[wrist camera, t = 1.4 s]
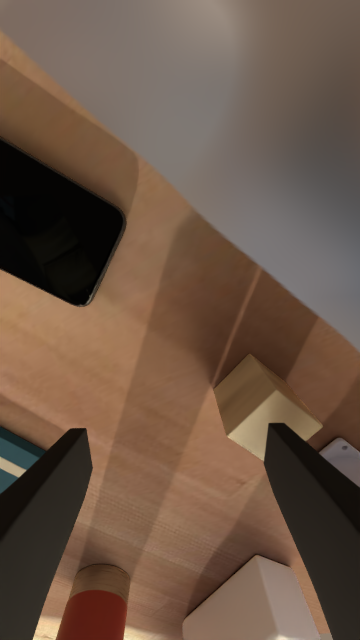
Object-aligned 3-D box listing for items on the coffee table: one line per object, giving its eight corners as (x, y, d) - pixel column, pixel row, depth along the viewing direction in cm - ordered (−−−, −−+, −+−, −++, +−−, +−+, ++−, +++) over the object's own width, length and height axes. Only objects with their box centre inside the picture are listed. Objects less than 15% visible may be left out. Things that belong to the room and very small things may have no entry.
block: (286, 382, 19) (324, 426, 14) (249, 416, 20) (273, 468, 15) (249, 352, 18) (276, 389, 13) (212, 389, 19) (225, 436, 14)
